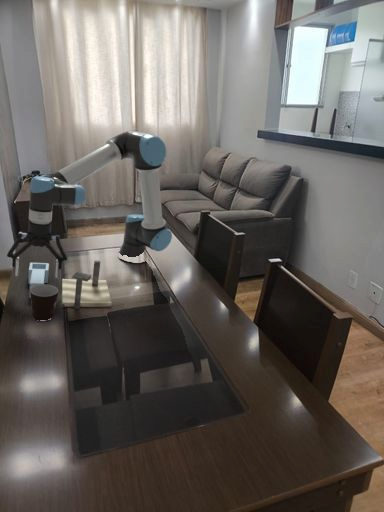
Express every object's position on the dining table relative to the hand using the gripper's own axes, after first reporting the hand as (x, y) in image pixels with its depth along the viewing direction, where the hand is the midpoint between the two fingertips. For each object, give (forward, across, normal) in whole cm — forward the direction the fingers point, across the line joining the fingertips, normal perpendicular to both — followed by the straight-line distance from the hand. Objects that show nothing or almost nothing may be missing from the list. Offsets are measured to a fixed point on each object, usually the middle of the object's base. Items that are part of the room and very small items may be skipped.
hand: (36, 275), depth 134 cm
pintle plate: (+6, +18, -3) cm, 19 cm away
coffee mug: (+7, +4, -18) cm, 19 cm away
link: (+6, 0, +4) cm, 7 cm away
